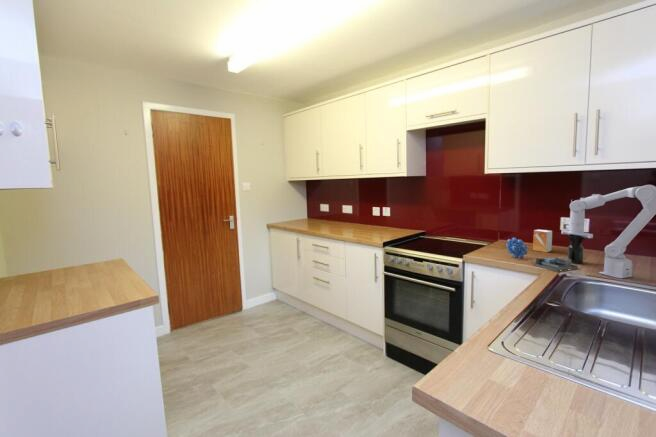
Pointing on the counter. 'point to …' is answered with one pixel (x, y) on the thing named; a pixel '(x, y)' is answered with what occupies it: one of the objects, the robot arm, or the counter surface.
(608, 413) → the counter surface
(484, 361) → the counter surface
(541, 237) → the small box
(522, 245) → the grapes
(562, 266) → the heatsink base
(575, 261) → the supplement bottle
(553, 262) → the blue-grey rectangular block
